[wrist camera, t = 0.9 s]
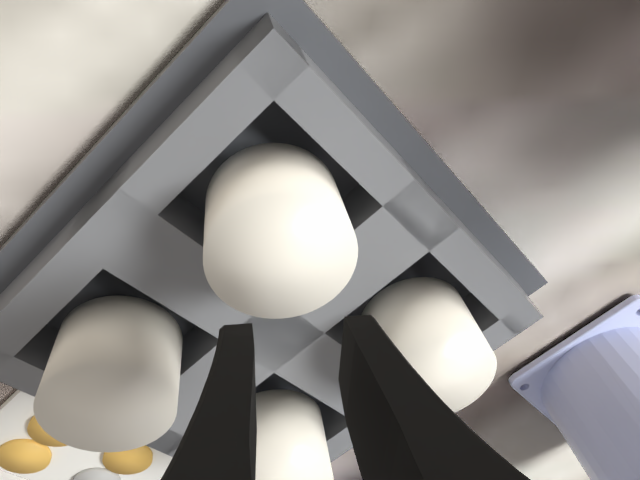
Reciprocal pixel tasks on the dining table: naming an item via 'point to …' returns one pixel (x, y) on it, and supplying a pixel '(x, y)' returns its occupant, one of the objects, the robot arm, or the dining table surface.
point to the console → (189, 211)
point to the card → (65, 452)
